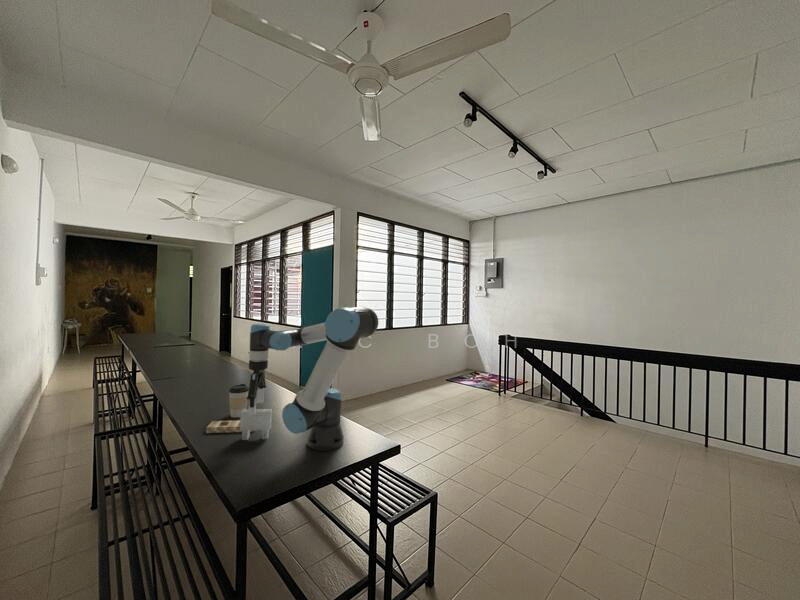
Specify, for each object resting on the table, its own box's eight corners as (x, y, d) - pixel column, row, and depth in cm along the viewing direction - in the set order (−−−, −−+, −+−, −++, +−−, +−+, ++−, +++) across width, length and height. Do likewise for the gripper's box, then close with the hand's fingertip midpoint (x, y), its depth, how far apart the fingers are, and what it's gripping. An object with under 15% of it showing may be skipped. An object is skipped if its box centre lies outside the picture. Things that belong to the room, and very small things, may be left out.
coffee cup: (239, 419, 157) (240, 389, 157) (223, 417, 159) (224, 387, 159) (251, 412, 166) (252, 384, 166) (236, 410, 168) (237, 382, 168)
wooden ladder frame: (258, 425, 152) (258, 419, 152) (254, 431, 145) (254, 426, 145) (212, 426, 148) (212, 421, 148) (206, 432, 141) (206, 427, 141)
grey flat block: (270, 435, 142) (272, 408, 141) (269, 439, 138) (270, 411, 138) (241, 436, 139) (242, 409, 139) (239, 440, 136) (240, 412, 136)
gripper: (256, 353, 150) (254, 398, 150) (240, 366, 125) (237, 419, 126) (273, 354, 151) (271, 398, 152) (260, 366, 127) (258, 419, 127)
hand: (256, 408), depth 139 cm, fingers open, 13 cm apart
